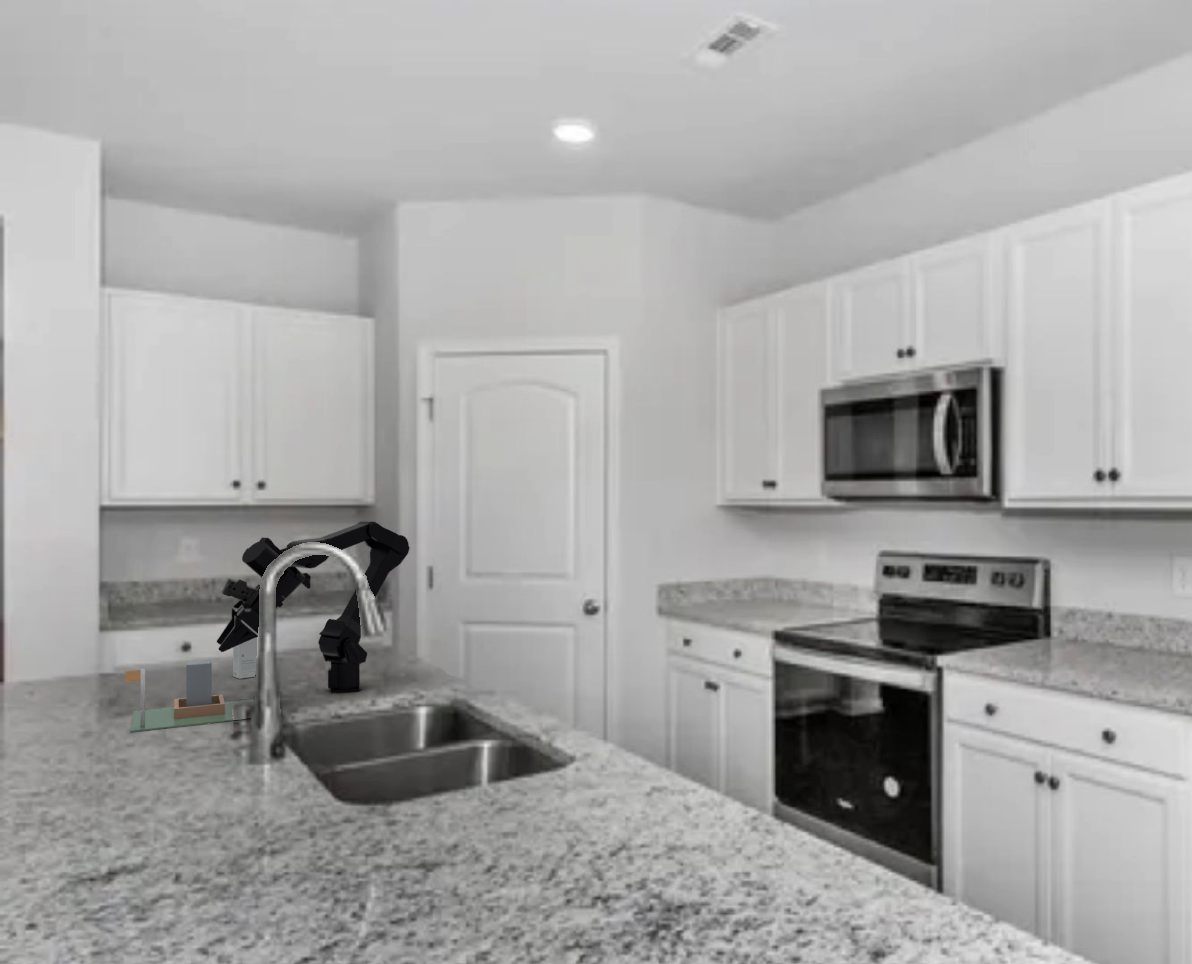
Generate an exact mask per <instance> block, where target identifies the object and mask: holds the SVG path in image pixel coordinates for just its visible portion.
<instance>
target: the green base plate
mask: <svg viewBox="0 0 1192 964" xmlns="http://www.w3.org/2000/svg"><path fill="white" fill-rule="evenodd" d="M138 681H139V682H140V684H139V685H140V687H139V688H140V693H139V694H140V697H139V698H140V701H139V702H140V705H139V707H140V710H134V711H133V714H132V719H131V720H132V721H131V725H130V733H135V732H137V733H138V732H146V731H154V730H155V731H156V730H163V729H164V728H166V729H173V728H172V727H175V728H179V727H178V726H184V727H191V726H201V724H202V725H207V724H208V723H211V724H218V723H217V722H220V723H225V722H224V721H229V722H233V721H232V720H233V718H232V717H233V715H232V709H233V706H234V704H235V703H239V702H251V701H253V699H254V698H251V699H242V700H241V699H240V700H231V701H225V699H224V696H223V694H222V693H220V694H212V704H210V705H201V706H191V707H186V697H180V698H179V697H178V698H174V700H173V706H171V707H170V706H169V707H163V708H151V709H146V669H145V668H140V669H135V670H125V671H124V683H125V682H126V683H127V682H128V683H129V682H138ZM208 725H209V724H208ZM164 730H165V729H164Z"/></svg>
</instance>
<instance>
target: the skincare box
mask: <svg viewBox="0 0 1192 964" xmlns="http://www.w3.org/2000/svg"><path fill="white" fill-rule="evenodd" d="M256 634H257V635H258V633H256ZM256 656H257V638H254V639H251V640H249V641H247V642H244V643H242V644H240V645H237V646H235V647H233V648H232V660H233V661H232V676H233V677H234V678H236V679H238V680H240V679H247V678H254V677H255V678H256V676H255V671H256Z"/></svg>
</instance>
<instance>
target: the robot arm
mask: <svg viewBox="0 0 1192 964" xmlns="http://www.w3.org/2000/svg"><path fill="white" fill-rule="evenodd" d="M307 542H320V543H326V544H329V545H332V546H334V547H337V548H339V549H341V551H343V550H345V549H348V548H350V547H354V546H355V545H358V544H362V543H363V542H364V544H365V545H366V546H367V547H368V548H370V551H369V565H368V566H367V569H366V570H365V572H364V574H365V575H366V576H367V580H368V583H369V586H370V589H371V591H372V592H373V594H374V596H375V599H376V598H377V595H378V594H379V592H380V590H381V589H382V587H383V585H384V583H385V581H386V579H387V577H388V575H389V574H390V572H392V571H393V570H395V569H396V568H397V567H398V566H399V565H401V564H402V562H403V561H404V560H405V558H406V557H407V556H408V555H409V553H410V545H409V541H408V538H406V536H404V535H402V534H398V533H396V532H394V531H392V530H390V529H388V528H386V527H384V526H382V525H381V524H379V523H377V522H376V521H372V520H371V521H370V520H362V521H359V522H357V523H356V524H354V525H351V526H348V527H345V528H343V529H340V530H338V531H334V532H332V533H329V534H327V535H324V536H321V537H316V538H306V539H299V540H294V541H291V542H289V543H288V544H286V547H284V548H281V549H280V548H279V547H278V546H277V545H276V544H274V541H272V540H271V539H270V538H269V537H264V536H262V537H261V538H260V539H259V540H258V541H257V542H255V543H253V544H252V545H250V546H249V547H247V548H246V549H245V551H244V553H242V557H241V561H242V562H243V563H244V564H245V565H246V566H247V567H248V568H250V569H251V570H252V571H253V572H255V573H256V575H258V576H259V577H260V578H262V576H263V574H264V572H265V570H266V568H267V566H268V565H269V564H270V563H271V562H272V561H273V560H274V559H276V558H277V557H278V556H279V555H280V554H282V553H283V552H284V551H286V550H288V549H290V548H292V547H293V546H296V545H299V544H302V543H307ZM329 557H330V556H326V555H312V556H309V557H305V558H302V559H299V560H297V561H295V562H294V563H293V564H292V565H291V566H290V565H289V566H287V567H288V568H287V569H286V570H285V571H284V574H283V575H282V576H281V577H280V579H279V581H278V584H277V587H276V610H277V609H278V608H282V606H283V605H284V602H285V601H286V599H288V598H289V597H290V596H291V595H292V594H293V593H294V592H295V591H296V590H297V589H298V588H299V587H300V586H301V585H303V586H304V587H305V588H306V589H308V590H309V589H311V577H312V576H311V575H310V574H309V573H307V572H304V573H303V572H302V571H300V570H299V569H298V568H301V569H314V568H317V567H319V566H320V565H321V564H323V563H325V562H326V561H327V560H328V559H329ZM262 579H263V578H262ZM259 589H260V584H259V583H258V584H257V585H255V587H252V586H251V585H248V583H247V581H246V580H243V579H240V578H238V579H237V580H235V579H232V578H227V580H226V582H225V584H224V586H223V589H222V590H221V593H222V595H224V596H226V597H233V598H234V599H236V601H235V602H234V603H233V604H232V607H231V608H230V614H231V618H230V619H229V621H228V623H227V624H226V626H225V628H224V629H223V631H222V632H221V633H220V635H219V636H218V638H217V640H216V644H218V645H219V646H218V651H220V652H221V653H224V652H226V651H228V650H230V649H233V647H235V646H237V645H240V644H242V643H244V642H247V641H249V640H251V639H254V638H257V637H258V635H257V634H256V633H258V627H259ZM361 626H362V624H361V625H360V617H359V608H358V601H357V595H356V589H354V592H353V593H352V596H351V598H350V599H349V601H348V602H347V604H346V607H345V608H344V609H343V611H342V614H340V616H338V618H335V619H334V618H329V619H328V620H327V621H326V623H325V624H324V627H323V628H322V630H321V632H319V635H320V636H319V639H318V641H317V642H318V646H319V651H320V652H321V653H322V656H323V660H324V662H329V663H330V667H328V668H327V688H328V690H329V689H330V691H329V693H332V694H333V693H344V692H359V691H361V685H360V684H361V683H360V674H361V672H360V667H361V664H363V663H366V661H367V658H368V652H367V651H366V650H365V649H364V648H363V647H362V646H361V645H360V641H361V639H362V627H361Z"/></svg>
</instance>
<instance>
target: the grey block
mask: <svg viewBox="0 0 1192 964" xmlns="http://www.w3.org/2000/svg"><path fill="white" fill-rule="evenodd" d="M185 665H186V667H185V669H186V670H185V671H186V673H185V676H186V678H185V679H186V681H185V684H186V685H185V686H186V687H185V688H186V692H185V693H186V694H185V698H186V707H191V706H201V705H210V704H212V695H213V694H212V693H213V691H212V689H213V684H212V681H213V680H212V679H213V678H212V677H213V673H212V671H213V670H212V669H213V667H212V666H213V665H212V659H210V658H209V659H207V658H206V659H197V660H186V663H185Z"/></svg>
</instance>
